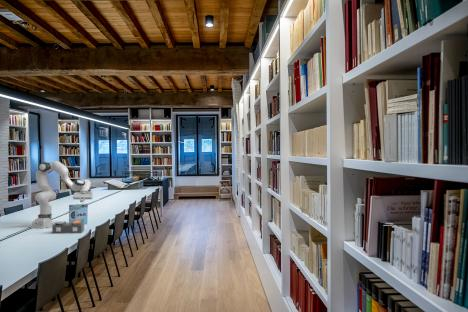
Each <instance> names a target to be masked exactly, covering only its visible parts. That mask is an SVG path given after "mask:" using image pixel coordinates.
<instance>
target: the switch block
mask: <svg viewBox="0 0 468 312" xmlns="http://www.w3.org/2000/svg"><path fill="white" fill-rule="evenodd" d="M57 222H60V221H57ZM62 222H63V223H56V222H55V223H54V224H52V225H53V226H52V229H51V230H52V231H51V233H52V234H82V233H84V231H85V224H84V223H82V221H81V222H79V225H73V222H72V223H70V224H69V223H67V221H62Z"/></svg>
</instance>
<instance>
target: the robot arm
mask: <svg viewBox="0 0 468 312" xmlns="http://www.w3.org/2000/svg"><path fill="white" fill-rule="evenodd" d="M51 172H56V174H58V175H59V177H60V178H61V180H62V181H63V182H64V184H66V186H67V187H68V188H69V189H70V191H71V192H72V193H73V196H72V199H73V200H79V203H84V201H86V200H93V199H94V195H93V194H94V193H93V190H92V189H90V188H91V185H92V183H91V180H89V179H88V178H87V179H80V178H77V179H74V181H72V180H71V179H70V177H69V169H68V167H67V166H66V165H64V164H63V163H62V162H60V161H59V160H54V161H52V162H50V161H46V162H45V161H43V162H41V163H39V164H38V170H37V171H36V172H35V180H36V184H37V188H38V189H40V192H38V193H36V194H35V196H34V198H35V201H36V202H37V203H38V204H39V214H38V215H37V218H35V219H33V221H31V222H32V223H31V225H30V226H29V227H30V229H45V228H51V227H52V226H53V225H54V224H53V220H52V218H53V214H52V205H50V203H49V201H50V202H51V201H53V200H55V199H56V198H57V193H56V191H54V190H53V189H52V187H51V185H50V182H49V179H48V174H50V173H51Z"/></svg>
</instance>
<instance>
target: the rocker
mask: <svg viewBox="0 0 468 312" xmlns="http://www.w3.org/2000/svg"><path fill="white" fill-rule="evenodd" d="M79 222H81V220H75V221H74V222H73V225H79Z"/></svg>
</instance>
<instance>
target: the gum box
mask: <svg viewBox="0 0 468 312" xmlns="http://www.w3.org/2000/svg"><path fill="white" fill-rule="evenodd" d="M88 212H89V211H88V203H81V204H80V203H79V204H78V203H77V204H69V205H68V224H70V223H72V222H74V221H75V220H81V221H82V223H84V225H85V224H88V218H89V217H88V216H89V215H88Z"/></svg>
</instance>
